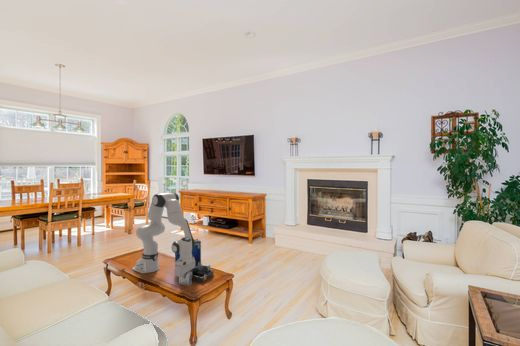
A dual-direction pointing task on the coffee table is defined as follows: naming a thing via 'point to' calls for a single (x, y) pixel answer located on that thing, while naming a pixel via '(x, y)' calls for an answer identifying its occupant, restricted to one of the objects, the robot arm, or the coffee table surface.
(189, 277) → the block
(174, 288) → the coffee table surface
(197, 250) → the book
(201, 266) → the rack
